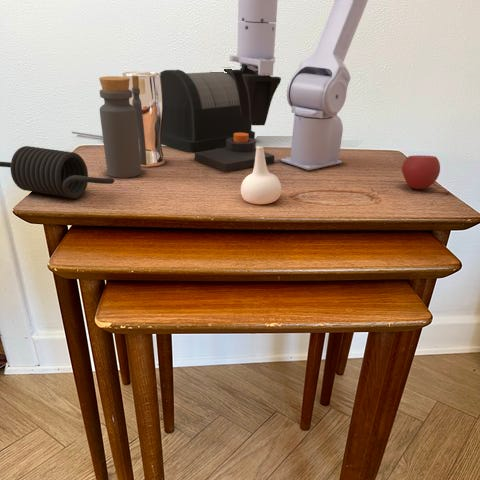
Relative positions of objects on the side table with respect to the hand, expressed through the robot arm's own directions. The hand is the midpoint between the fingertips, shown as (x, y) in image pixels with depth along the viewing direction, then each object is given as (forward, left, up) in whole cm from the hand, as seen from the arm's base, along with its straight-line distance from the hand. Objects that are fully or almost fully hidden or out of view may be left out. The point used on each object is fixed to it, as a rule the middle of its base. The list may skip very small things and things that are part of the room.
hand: (252, 120), depth 76 cm
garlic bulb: (+6, +10, -10) cm, 15 cm away
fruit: (-19, +17, -7) cm, 27 cm away
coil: (+28, -11, -3) cm, 30 cm away
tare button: (-8, -13, -7) cm, 17 cm away
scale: (-5, -10, -9) cm, 15 cm away
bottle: (+17, -14, -10) cm, 24 cm away
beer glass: (+10, -18, -10) cm, 23 cm away
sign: (+13, -48, -9) cm, 51 cm away
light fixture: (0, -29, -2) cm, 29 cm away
